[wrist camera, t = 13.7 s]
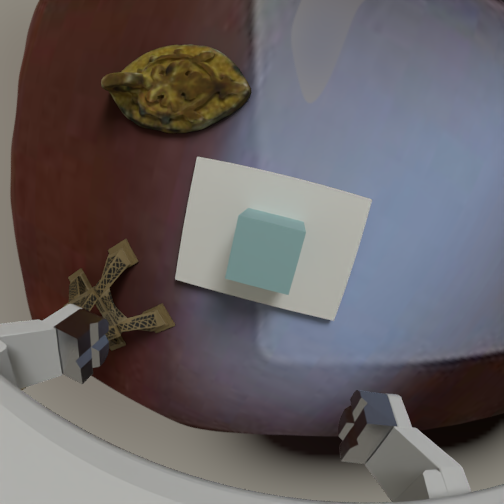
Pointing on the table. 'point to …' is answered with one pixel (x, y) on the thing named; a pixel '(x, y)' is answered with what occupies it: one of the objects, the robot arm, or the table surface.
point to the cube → (265, 250)
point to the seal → (178, 88)
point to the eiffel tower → (101, 296)
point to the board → (279, 203)
